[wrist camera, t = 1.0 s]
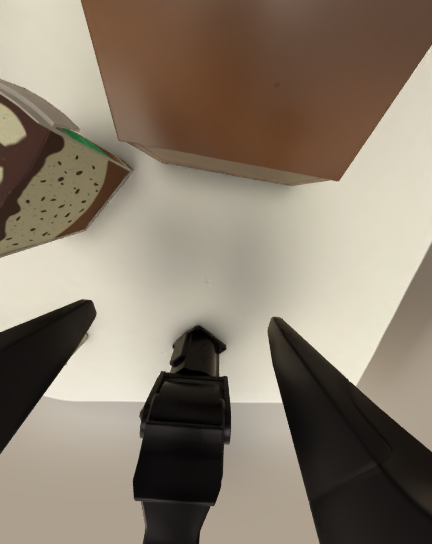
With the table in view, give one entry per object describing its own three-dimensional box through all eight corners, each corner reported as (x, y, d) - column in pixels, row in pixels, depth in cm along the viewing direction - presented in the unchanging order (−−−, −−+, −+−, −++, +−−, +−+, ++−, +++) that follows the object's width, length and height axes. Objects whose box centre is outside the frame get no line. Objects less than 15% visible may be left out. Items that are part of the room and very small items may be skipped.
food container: (87, 96, 14) (-142, -79, 5) (142, 159, 16) (44, 111, 7) (28, 196, 18) (-168, 195, 9) (79, 238, 20) (-40, 273, 11)
